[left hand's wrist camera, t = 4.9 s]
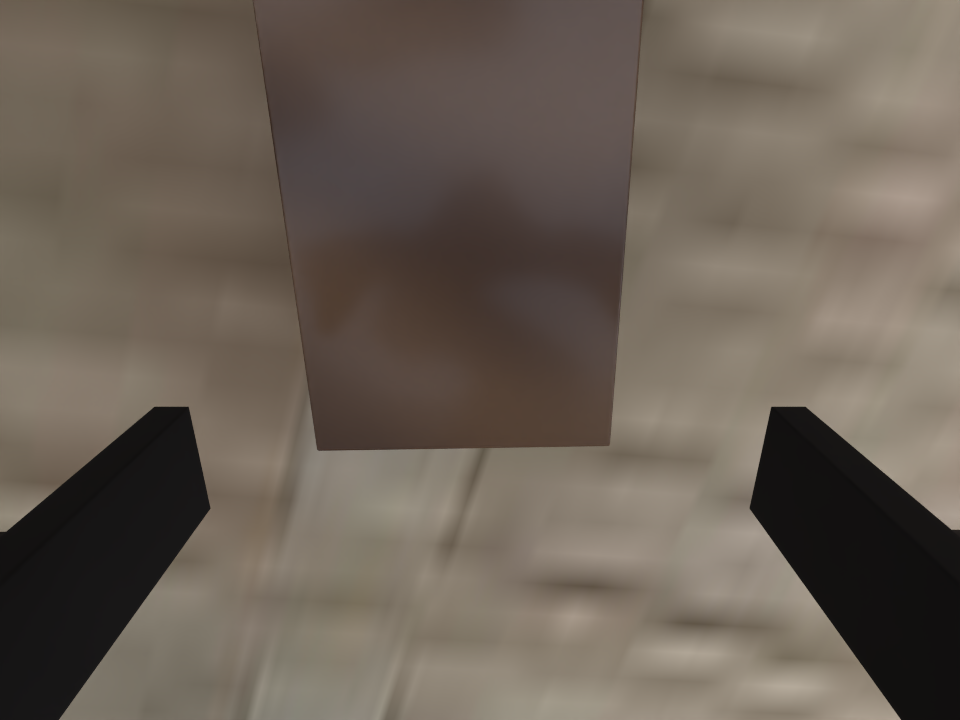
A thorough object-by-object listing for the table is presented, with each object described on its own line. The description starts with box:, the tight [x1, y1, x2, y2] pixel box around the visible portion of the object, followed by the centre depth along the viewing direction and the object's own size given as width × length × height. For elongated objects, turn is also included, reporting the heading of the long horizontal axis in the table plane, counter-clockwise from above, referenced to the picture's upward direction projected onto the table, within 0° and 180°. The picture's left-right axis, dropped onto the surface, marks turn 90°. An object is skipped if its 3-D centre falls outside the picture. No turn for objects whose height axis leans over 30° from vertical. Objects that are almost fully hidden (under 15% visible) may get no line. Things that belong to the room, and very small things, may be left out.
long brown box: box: [253, 0, 644, 451], centre depth 22 cm, size 17×10×11 cm, turn 1°
